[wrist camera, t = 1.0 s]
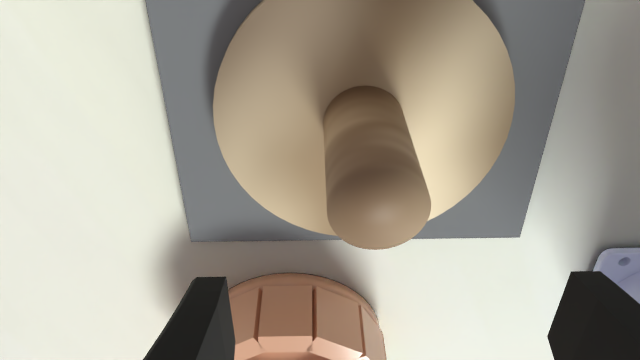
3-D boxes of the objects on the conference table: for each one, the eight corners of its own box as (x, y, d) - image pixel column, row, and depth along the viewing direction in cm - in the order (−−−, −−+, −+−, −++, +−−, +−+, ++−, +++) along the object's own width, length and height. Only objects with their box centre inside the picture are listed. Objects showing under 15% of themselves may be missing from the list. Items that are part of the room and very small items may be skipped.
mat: (596, -75, 16) (604, -72, 15) (515, 228, 23) (519, 237, 22) (137, -72, 16) (132, -68, 15) (194, 232, 22) (191, 241, 22)
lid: (538, -43, 16) (637, 13, 11) (480, 222, 22) (528, 334, 17) (197, -40, 16) (147, 18, 11) (231, 226, 22) (209, 339, 17)
